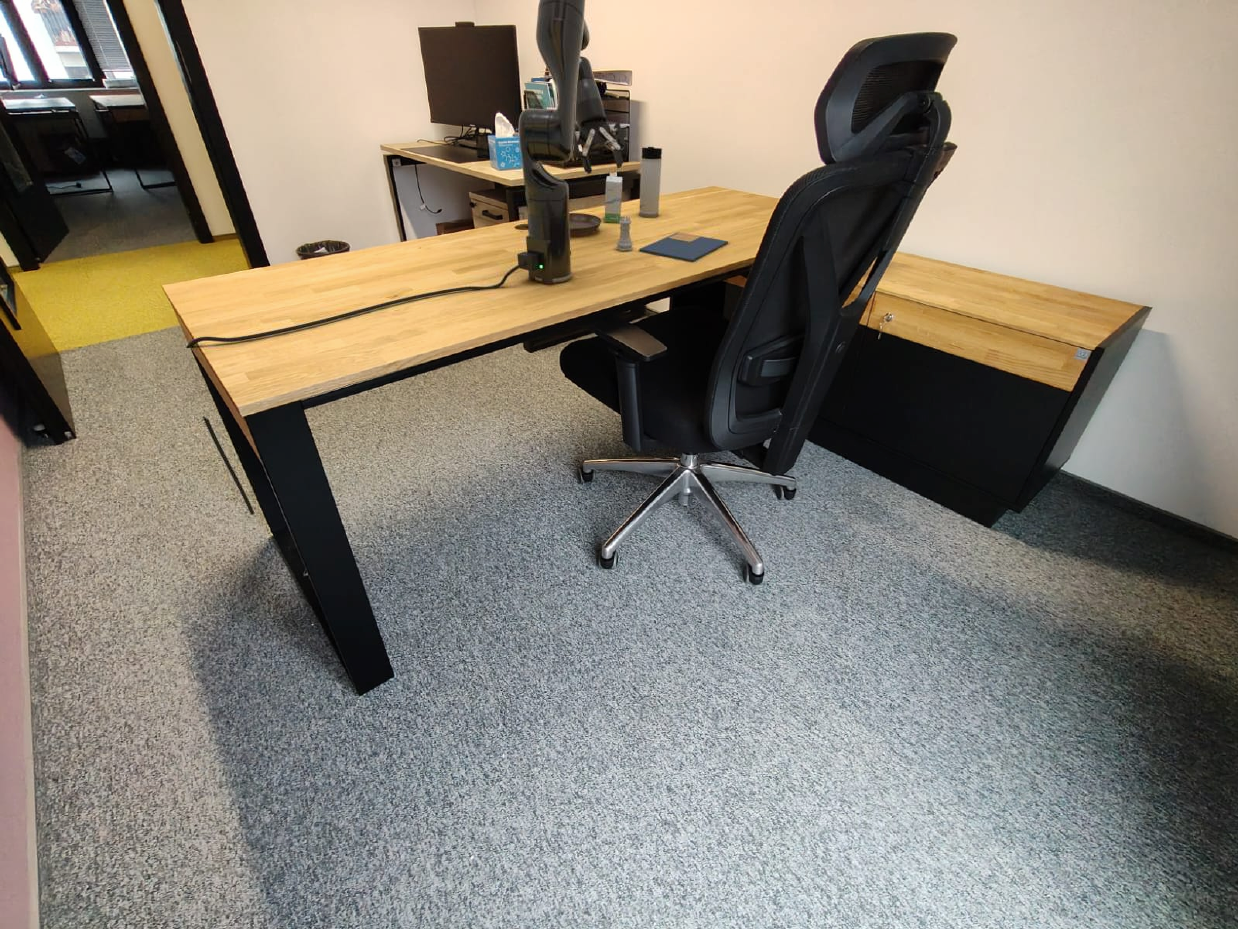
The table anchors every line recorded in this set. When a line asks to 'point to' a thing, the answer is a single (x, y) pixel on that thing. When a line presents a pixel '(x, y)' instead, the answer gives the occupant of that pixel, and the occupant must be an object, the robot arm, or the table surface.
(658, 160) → the travel mug
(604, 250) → the table surface
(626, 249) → the rook chess piece
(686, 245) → the desk mat
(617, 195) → the ink box
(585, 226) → the plant saucer
